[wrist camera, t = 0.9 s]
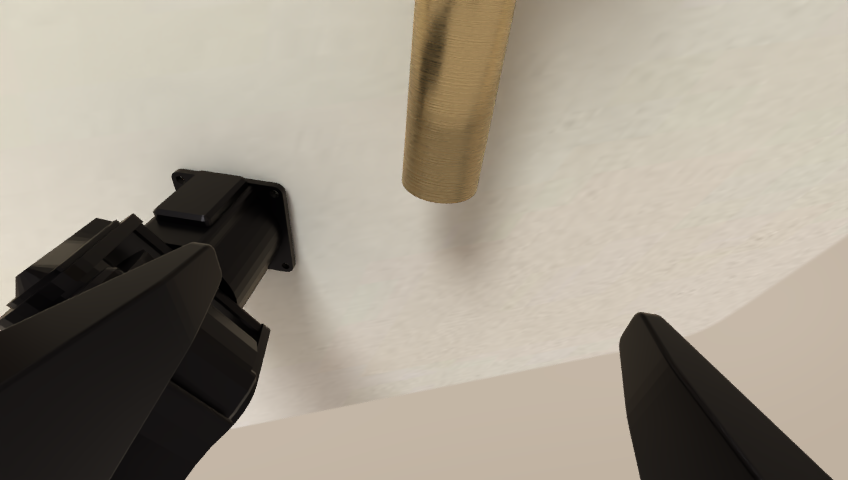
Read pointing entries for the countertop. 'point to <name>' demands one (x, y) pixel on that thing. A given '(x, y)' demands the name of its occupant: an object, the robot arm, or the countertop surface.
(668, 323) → the robot arm
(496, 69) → the tube
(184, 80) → the countertop surface
